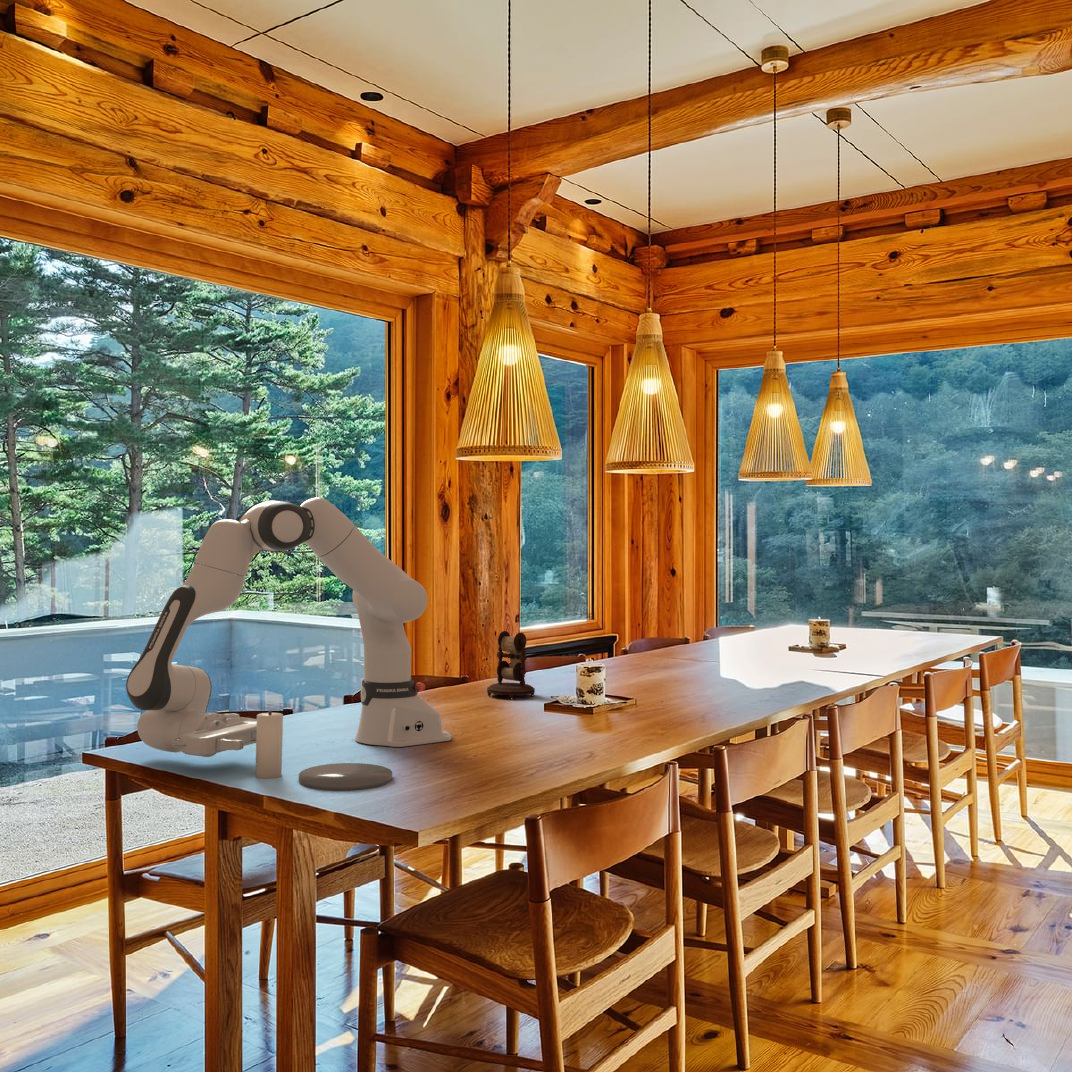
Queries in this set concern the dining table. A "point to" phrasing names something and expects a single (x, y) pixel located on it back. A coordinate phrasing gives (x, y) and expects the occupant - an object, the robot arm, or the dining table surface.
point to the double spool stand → (517, 666)
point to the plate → (345, 776)
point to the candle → (269, 745)
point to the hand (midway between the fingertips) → (257, 741)
